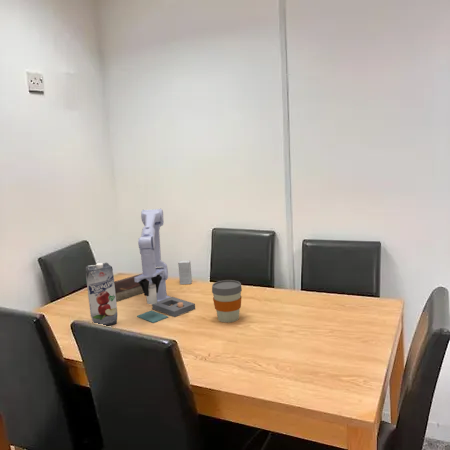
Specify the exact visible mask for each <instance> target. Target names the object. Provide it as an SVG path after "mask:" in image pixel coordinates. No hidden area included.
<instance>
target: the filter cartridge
mask: <svg viewBox="0 0 450 450" xmlns="http://www.w3.org/2000/svg"><path fill="white" fill-rule="evenodd" d="M148 290H149V296H146V297H147V298H146V297H145V298H146V304H148V305H152V304H156V303H157V294H156V284H153V283H152V284H149V287H148Z"/></svg>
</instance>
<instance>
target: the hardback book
mask: <svg viewBox="0 0 450 450" xmlns="http://www.w3.org/2000/svg"><path fill="white" fill-rule="evenodd" d="M141 274H143V272H142V273H140V274H137V275H133V276H128V277H125V278H123V279H119V280H118V279H117V280H116V281H115V280H114V284H115V294H116V303H119V302H121V301H124V300H127V299H130V298H132V297H136V296H139V295H142V294H144V292H143V289H142V287H141V286H140V284H139V283H138V282H135V280H134V277H137V276H139V275H141ZM146 280H147V279H146ZM147 281H148V280H147Z"/></svg>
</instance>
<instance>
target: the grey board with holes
mask: <svg viewBox="0 0 450 450" xmlns="http://www.w3.org/2000/svg"><path fill="white" fill-rule="evenodd" d="M178 302H183V307H181V308H179V307H178ZM151 308H152V311H155V312H158V313H161V314H164V315H167V316H170V317H171V316H172V318H173V317H174V318H176V317H178V316H181V315H183V314H185V313H189V312H191V311H194V310H196V303H193V302H191V301H187V300H184V299H181V298H177V297H174V296H170V298H167V299H165V300H162V301H159V302H157V303H156V304H151Z"/></svg>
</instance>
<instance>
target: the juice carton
mask: <svg viewBox="0 0 450 450" xmlns="http://www.w3.org/2000/svg"><path fill="white" fill-rule="evenodd" d="M85 279H86V286H87V287H86V288H87V298H88V304H89V313H90V318H91V320H92V323H93V322H94V323H98V324H103V325H108V326H112V325H116V324H117V321H118V305H117V303H118V302H116V294H115V284H114V282H115V278H114V272H113V266H111V265H110V264H109V263H108V262H97V263H96V264H91V265H87V266H85ZM94 323H93V324H94Z"/></svg>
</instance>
